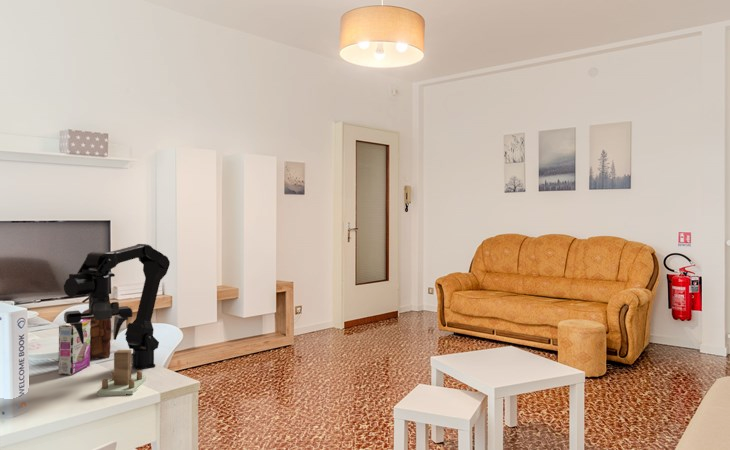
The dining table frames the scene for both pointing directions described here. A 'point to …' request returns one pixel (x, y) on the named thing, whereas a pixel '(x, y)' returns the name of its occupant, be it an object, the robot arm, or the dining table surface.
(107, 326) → the wooden figurine
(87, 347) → the candy bar box
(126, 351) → the brown wooden block
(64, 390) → the dining table surface
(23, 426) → the dining table surface
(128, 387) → the peg stand
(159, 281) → the robot arm
